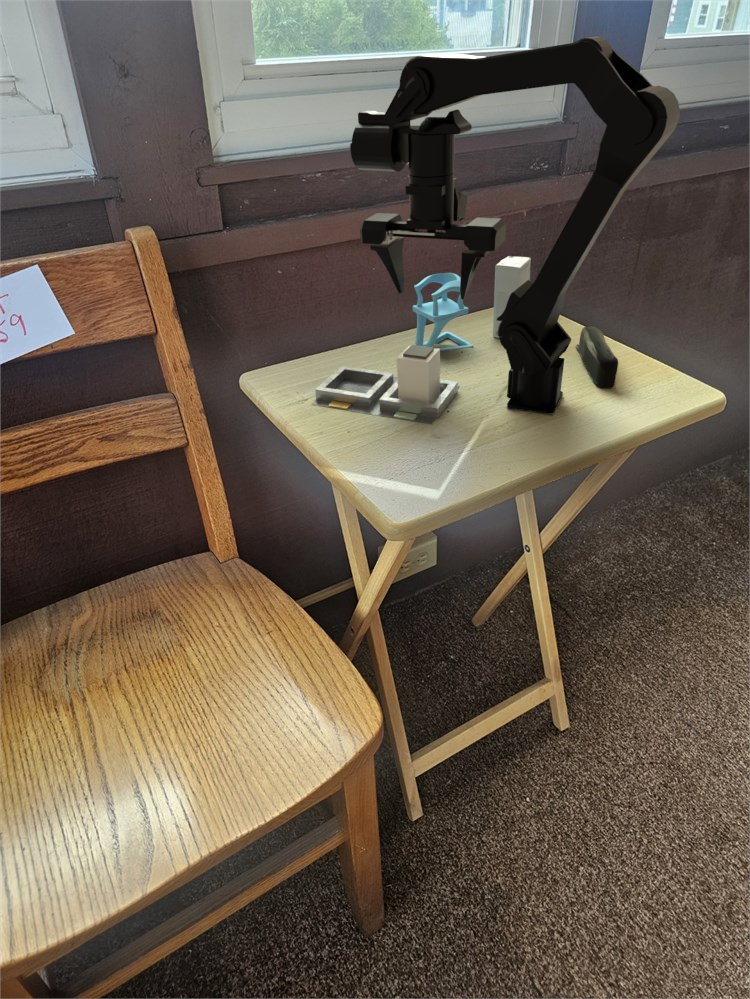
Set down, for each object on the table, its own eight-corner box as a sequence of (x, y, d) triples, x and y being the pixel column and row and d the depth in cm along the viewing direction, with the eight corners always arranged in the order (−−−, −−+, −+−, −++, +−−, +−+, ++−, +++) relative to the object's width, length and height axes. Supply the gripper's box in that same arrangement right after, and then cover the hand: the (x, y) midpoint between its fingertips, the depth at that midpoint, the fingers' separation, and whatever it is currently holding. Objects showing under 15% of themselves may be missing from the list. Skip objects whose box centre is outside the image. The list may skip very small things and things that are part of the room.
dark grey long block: (623, 358, 93) (593, 317, 105) (601, 359, 93) (574, 318, 105) (617, 390, 96) (589, 347, 108) (596, 391, 96) (570, 348, 108)
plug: (439, 395, 95) (439, 346, 91) (428, 409, 92) (428, 359, 88) (407, 390, 97) (405, 342, 93) (395, 404, 94) (393, 354, 89)
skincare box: (516, 341, 112) (521, 267, 105) (490, 337, 114) (494, 265, 107) (527, 328, 116) (533, 257, 109) (503, 325, 118) (507, 254, 111)
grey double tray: (461, 391, 98) (461, 376, 96) (433, 429, 89) (433, 414, 88) (347, 375, 104) (346, 361, 103) (311, 409, 96) (309, 394, 94)
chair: (406, 347, 112) (404, 275, 105) (448, 336, 115) (448, 265, 108) (431, 363, 107) (430, 288, 100) (474, 350, 110) (476, 277, 103)
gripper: (520, 163, 87) (512, 283, 96) (388, 161, 94) (392, 273, 103) (497, 179, 79) (490, 309, 88) (354, 176, 86) (362, 297, 95)
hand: (431, 295), depth 94 cm, fingers open, 9 cm apart
